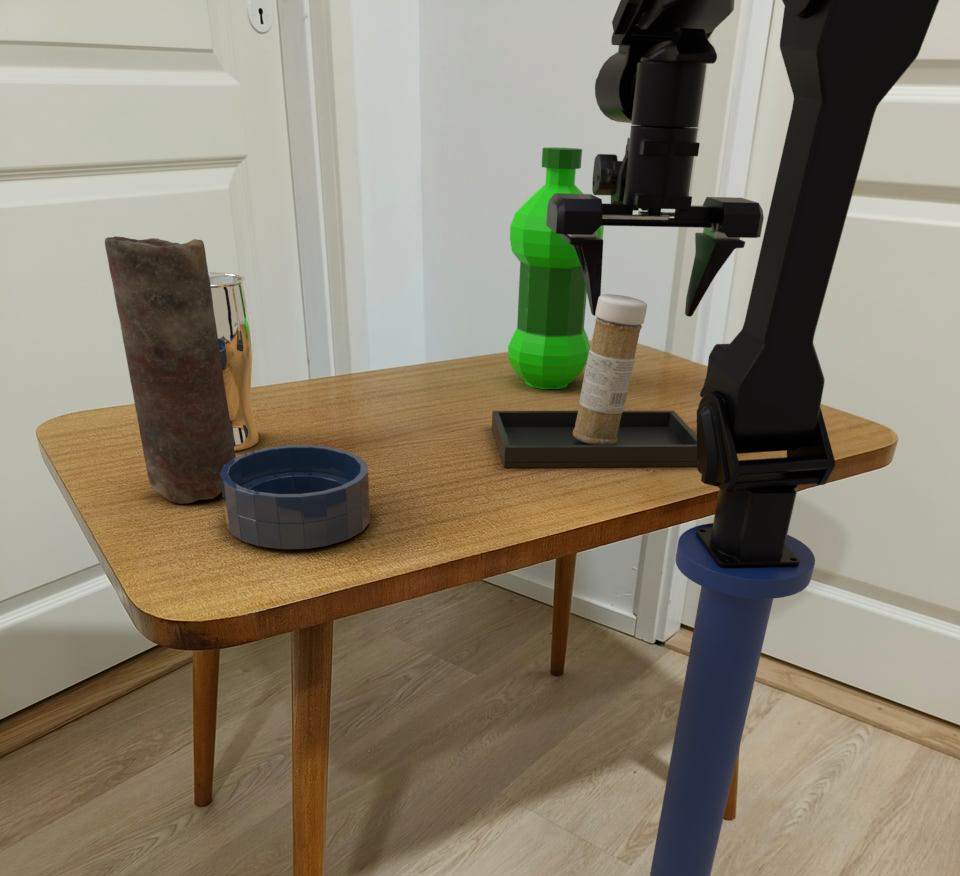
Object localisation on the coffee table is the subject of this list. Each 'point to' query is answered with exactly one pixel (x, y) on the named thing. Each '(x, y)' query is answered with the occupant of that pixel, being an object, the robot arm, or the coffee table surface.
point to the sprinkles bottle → (609, 368)
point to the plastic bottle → (549, 285)
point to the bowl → (296, 496)
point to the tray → (553, 444)
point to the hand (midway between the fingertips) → (641, 315)
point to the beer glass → (235, 353)
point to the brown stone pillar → (173, 363)
